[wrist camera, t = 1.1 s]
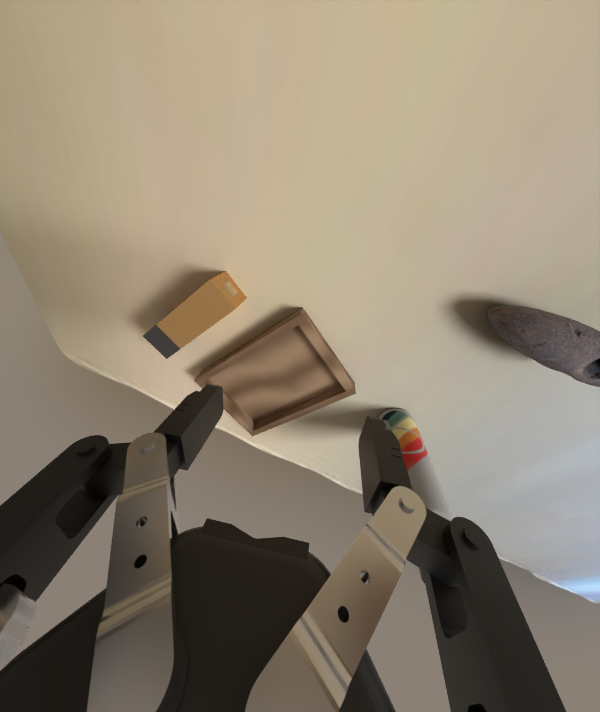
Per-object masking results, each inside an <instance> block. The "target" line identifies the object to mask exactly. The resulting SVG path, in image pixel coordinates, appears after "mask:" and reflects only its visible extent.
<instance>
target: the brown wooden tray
mask: <svg viewBox="0 0 600 712" xmlns="http://www.w3.org/2000/svg"><path fill="white" fill-rule="evenodd" d="M194 381H195V382H196V383H197V384H198V385H199V386H200V387H202V388H204V387H205V385H207V384H213V385H218V386H222V389H223V408H224V409H225V410H226V411H227V412H228V413H229V414H230V415H231V416H232V417H233V418H234V419H235V420H236V421H237V422H238V423H239V424H240V425H241V426H242V427H243V428H244V429H246V430H247V431H248V432H249V433H250V434H251V435H252V436H254V435H257V434H259V433H261V432H264V431H266V430H269V429H271V428H274V427H276V426H278V425H281V424H283V423H286V422H288V421H290V420H293V419H295V418H298V417H300V416H303V415H305V414H307V413H310V412H312V411H315V410H317V409H319V408H322V407H324V406H327V405H329V404H332V403H334V402H336V401H339V400H341V399H344V398H346V397H348V396H351V395H353V394H356V391H355V384H354V382H353V380H352V379H351V377H350V376H349V374H348V373H347V371H346V370H345V368H344V367H343V365H342V364H341V363H340V361H339V360H338V358H337V357H336V355H335V354H334V352H333V351H332V349H331V348H330V347H329V345H328V344H327V342H326V341H325V339H324V338H323V336H322V335H321V333H320V332H319V331H318V329H317V328H316V326H315V325H314V323H313V322H312V320H311V319H310V317H309V316H308V314H307V313H306V312H305V310H304V309H303V308H301V309H300V310H298V311H297V312H295V313H293V314H292V315H290V316H289V317H287V318H285V319H284V320H282V321H281V322H279V323H278V324H276V325H274V326H273V327H271V328H270V329H268V330H266V331H265V332H263V333H262V334H260V335H259V336H257V337H255V338H254V339H252V340H251V341H249V342H247V343H246V344H244V345H243V346H241V347H239V348H238V349H236V350H235V351H233V352H232V353H230V354H228V355H227V356H225V357H224V358H222V359H220V360H219V361H217V362H216V363H214V364H213V365H211V366H209V367H208V368H206V369H205V370H203V371H202V372H201V373H200V374H199V375H198V376H197V378H196V379H195V380H194Z"/></svg>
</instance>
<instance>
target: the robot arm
mask: <svg viewBox="0 0 600 712" xmlns="http://www.w3.org/2000/svg"><path fill="white" fill-rule="evenodd" d="M222 413H223V389H222V386H218V385H213V384H207V385H205V387H204V388H203V389H202V390H201V391H200V392H199V391H195V392H193V393H191V394H190V395H188V396H187V397H186V398H185V399H184V400H183V401H182V402H181V404H179V405H178V406H177V407H176V408H175V410H174V411H173V412H172V413H171V414H170V415H169V416H168V417H167V418H166V419H165V420H164V422H163V423H162V424H161V425H160V426H159V427H158V428H157V429H156V430H155V431H154V432H153V433H147V434H144V435H142V436H140V437H138V438H136V439H135V440H134V441H132V442H131V443H117V444H109V442H108V440H107V438H105V437H104V436H100V435H95V436H89V437H86V438H83V439H80V440H79V441H77V442H75V443H73V444H72V445H71V446H69V447H68V448H67V449H66V450H65V451H64V452H62V453H61V454H60V455H59V456H58V457H57V458H55V459H54V460H53V461H52V462H51V463H50V464H48V465H47V466H46V467H45V468H44V469H43V470H41V471H40V472H39V473H38V474H37V475H36V476H34V477H33V478H32V479H31V480H30V481H29V482H27V483H26V484H25V485H24V486H23V487H22V488H20V489H19V490H18V491H17V492H16V493H15V494H13V495H12V496H11V497H10V498H9V499H8V500H7V501H5V502H4V503H3V504H2V505H1V506H0V712H396V711H395V709H394V707H393V705H392V703H391V701H390V699H389V696H388V694H387V692H386V690H385V688H384V686H383V683H382V682H381V679H380V677H379V675H378V673H377V671H376V668H375V666H374V664H373V662H372V660H371V658H370V656H369V654H368V651H367V649H366V648H367V646H368V643H369V641H370V639H371V637H372V635H373V633H374V631H375V629H376V627H377V625H378V622H379V620H380V618H381V616H382V614H383V612H384V610H385V608H386V606H387V603H388V601H389V599H390V597H391V595H392V593H393V591H394V588H395V587H396V585H397V582H398V580H399V578H400V576H401V574H402V572H403V569H404V567H405V560H406V559H407V560H408V561H410V562H411V563H413V564H415V565H416V566H418V567H419V568H421V569H422V570H423V575H424V580H425V584H426V589H427V594H428V599H429V604H430V609H431V614H432V619H433V624H434V629H435V634H436V639H437V644H438V649H439V654H440V659H441V664H442V669H443V674H444V679H445V684H446V689H447V694H448V699H449V704H450V709H451V712H566V710H565V708H564V706H563V703H562V701H561V699H560V697H559V694H558V692H557V690H556V688H555V685H554V683H553V681H552V679H551V676H550V674H549V672H548V669H547V667H546V665H545V663H544V660H543V659H542V656H541V654H540V651H539V649H538V647H537V645H536V642H535V640H534V638H533V636H532V633H531V631H530V629H529V626H528V624H527V622H526V620H525V617H524V615H523V613H522V611H521V608H520V606H519V604H518V602H517V599H516V597H515V595H514V593H513V590H512V588H511V586H510V583H509V581H508V579H507V577H506V574H505V572H504V570H503V568H502V566H501V563H500V561H499V559H498V556H497V554H496V552H495V550H494V547H493V545H492V543H491V541H490V539H489V538H488V536H487V535H486V534H485V532H484V531H483V530H482V529H481V528H480V527H479V526H478V525H476V524H475V523H473V522H472V521H470V520H468V519H466V518H463V517H455V518H453V519H452V520H451V521H449V520H447V519H446V518H444V517H442V516H440V515H438V514H436V513H434V512H433V511H431V510H429V509H428V508H427V507H425V505H424V503H423V501H422V500H421V498H420V497H419V496H418V495H417V494H416V493H415V492H414V491H413V489H412V486H411V482H410V479H409V475H408V472H407V468H406V465H405V461H404V459H403V454H402V451H401V447H400V444H399V440H398V439H397V437H396V436H395V435H394V433H393V432H392V431H388V430H386V428H385V424H384V420H383V419H380V418H375V417H370V416H368V417H367V419H366V421H365V424H364V427H363V429H362V432H361V435H360V438H359V456H360V467H361V478H362V489H363V500H364V510H365V512H367V513H372V515H373V517H372V519H371V520H370V521H369V523H368V524H367V525H366V526H365V527H364V528H363V530H362V531H361V533H360V534H359V535H358V537H357V538H356V540H355V541H354V542H353V544H352V545H351V547H350V548H349V550H348V551H347V552H346V554H345V555H344V557H343V558H342V560H341V561H340V562H339V564H338V565H337V567H336V568H335V570H334V571H333V572H332V574H330V572H329V571H328V569H327V568H326V567H325V566H324V564H323V563H322V562H321V561H320V560H319V559H318V558H316V557H315V556H314V555H313V554H311V553H310V552H308V549H309V543H307V542H303V541H298V540H294V539H290V538H286V537H275V538H261V539H255V538H253V537H251V536H249V535H248V534H246V533H244V532H243V531H241V530H240V529H238V528H237V527H235V526H233V525H232V524H228V523H223V522H220V521H216V520H211V519H207V520H206V522H205V524H204V526H203V527H197V528H193V529H190V530H187V531H184V532H182V533H181V532H180V524H179V518H178V509H177V497H176V485H175V477H174V476H175V474H176V473H177V471H178V470H179V469H183V470H188V469H189V467H190V465H191V464H192V462H193V461H194V459H195V458H196V456H197V454H198V453H199V451H200V450H201V448H202V446H203V445H204V443H205V442H206V440H207V439H208V437H209V435H210V434H211V432H212V430H213V429H214V427H215V426H216V424H217V423H218V421H219V420H220V418H221V416H222ZM117 495H118V498H117V503H116V511H115V519H114V529H113V537H112V545H111V553H110V562H109V570H108V580H107V588H105V589H104V590H103V591H101V592H100V593H99V594H97V595H96V596H95V597H93V598H92V599H91V600H89V601H88V602H87V603H86V604H84V605H83V606H82V607H80V608H79V609H78V610H76V611H75V612H74V613H72V614H71V615H70V616H68V617H67V618H66V619H64V620H63V621H62V622H60V623H59V624H58V625H56V626H55V627H54V628H52V629H51V630H50V631H49V632H47V633H46V634H45V635H43V636H42V637H41V638H39V639H38V640H37V641H35V642H34V643H33V644H31V645H30V646H29V647H27V648H26V649H25V650H23V651H22V652H21V653H20V654H18V655H17V656H16V657H15V653H16V651H17V648H18V647H19V646H20V644H21V643H22V642H23V641H24V639H25V638H26V636H27V633H28V629H29V628H30V626H31V623H32V622H33V619H34V616H35V612H36V605H35V602H36V600H37V599H38V598H39V597H40V595H41V594H42V593H43V591H44V590H45V588H47V586H48V585H49V584H50V582H51V581H52V580H53V578H54V577H55V576H56V574H57V573H58V572H59V571H60V569H61V568H62V567H63V565H64V564H65V563H66V562H67V560H68V559H69V558H70V556H71V555H72V554H73V552H74V551H75V550H76V549H77V547H78V546H79V545H80V543H81V541H83V539H84V538H85V537H86V536H87V534H88V533H89V532H90V530H91V529H92V528H93V527H94V525H95V524H96V523H97V521H98V520H99V518H100V517H101V516H102V515H103V513H104V512H105V511H106V510H107V508H108V507H109V506H110V504H111V503H112V502H113V500H114V499H115V498H116V497H117ZM14 657H15V658H14Z"/></svg>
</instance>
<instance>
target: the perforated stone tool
mask: <svg viewBox="0 0 600 712" xmlns="http://www.w3.org/2000/svg"><path fill="white" fill-rule="evenodd" d="M488 319H489V321H490V323H491V325H492V326H493V328H494V329H495V330H496V332H497V333H498V334H499V335H500V336H501V337H502V338H503V339H504V340H505V341H506V342H507V343H509V344H510V345H511V346H513V347H514V348H516V349H517V350H519V351H520V352H522V353H523V354H525V355H527V356H528V357H530V358H532V359H533V360H535V361H537V362H538V363H540V364H542V365H544V366H546V367H548V368H550V369H553V370H556V371H560V372H563V373H565V374H567V375H569V376H571V377H573V378H574V379H576V380H577V381H580V382H583V383H586V384H589V385H593V386H597V387H600V331H598V330H596V329H594V328H592V327H589V326H587V325H585V324H582V323H580V322H577V321H575V320H572V319H569V318H566V317H563V316H560V315H556V314H553V313H549V312H545V311H541V310H538V309H533V308H528V307H521V306H496V307H492V308H490V310H489V311H488Z"/></svg>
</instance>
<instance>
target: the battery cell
mask: <svg viewBox="0 0 600 712" xmlns="http://www.w3.org/2000/svg"><path fill="white" fill-rule="evenodd" d="M246 298H247V297H246V296H245V295H244V294H243V292H242V291H241V290H240V288H239V287H238V286H237V285H236V283H235V282H234V281H233V279H232V278H231V277H230V276H229V274H228V273H227V272H224V273H222V274H220V275H218V276H216V277H214V278H212V279H210V280H208V281H207V282H206V283H205V284H204V285H203V286H201V287H200V288H199V289H198V290H197V291H195V292H194V293H193V294H192V295H191V296H190V297H188V298H187V299H186V300H185V301H184V302H182V303H181V304H180V305H179V306H178V307H177V308H175V309H174V310H173V311H172V312H171V313H169V314H168V315H167V316H166V317H165V318H164V319H162V320H161V321H160V322H159V323H158V324H156V325H155V326H154V327H153V328H152V329H151V330H149V331H148V332H147V333H146V334H145V335H143V337H144V338H145V339H146V340H147V341H148V342H150V343H151V344H152V345H153V346H154V347H155V348H156V349H157V350H158V351H159V352H160V353H161V354H162V355H163V356H164V357H165V358H166V359H167V358H169V357H170V356H171V355H173V354H174V353H175V352H177V351H178V350H180V349H181V348H182V347H184V346H185V345H186V344H188V343H189V342H191V341H192V340H193V339H195V338H196V337H197V336H199V335H200V334H202V333H203V332H204V331H206V330H207V329H208V328H210V327H211V326H213V325H214V324H215V323H217V322H218V321H219V320H221V319H222V318H224V317H225V316H226V315H228V314H229V313H230V312H232V311H233V310H235V309H236V308H237V307H238V306H239V305H240V304H241V303H242V302H243V301H244V300H245V299H246Z"/></svg>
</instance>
